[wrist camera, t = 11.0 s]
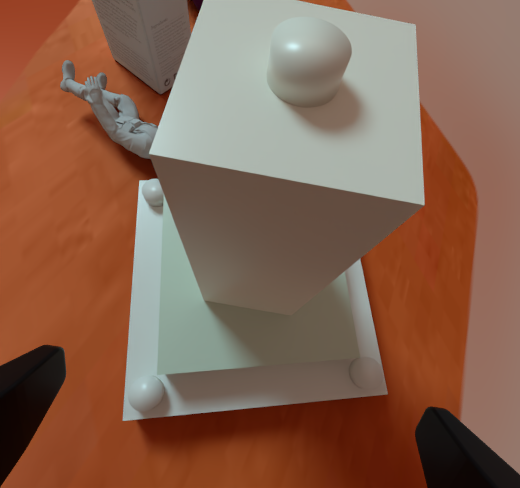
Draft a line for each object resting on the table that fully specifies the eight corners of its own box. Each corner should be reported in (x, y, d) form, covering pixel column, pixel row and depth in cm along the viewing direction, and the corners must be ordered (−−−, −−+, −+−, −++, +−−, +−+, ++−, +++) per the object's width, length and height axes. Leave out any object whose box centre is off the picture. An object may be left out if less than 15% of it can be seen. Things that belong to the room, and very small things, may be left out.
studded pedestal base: (372, 391, 19) (407, 397, 15) (133, 415, 17) (108, 428, 14) (334, 191, 24) (354, 160, 20) (146, 195, 22) (130, 162, 19)
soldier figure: (136, 85, 27) (239, 121, 22) (126, 140, 29) (220, 186, 24) (36, 48, 21) (147, 87, 16) (30, 122, 22) (129, 180, 17)
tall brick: (291, 315, 16) (452, 182, 5) (203, 300, 16) (137, 122, 4) (300, 235, 18) (434, -11, 6) (221, 221, 18) (208, -58, 6)
